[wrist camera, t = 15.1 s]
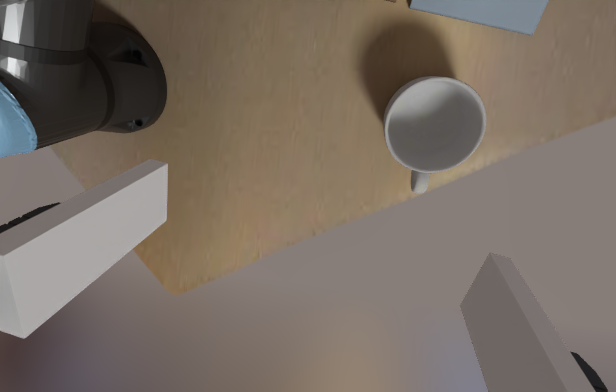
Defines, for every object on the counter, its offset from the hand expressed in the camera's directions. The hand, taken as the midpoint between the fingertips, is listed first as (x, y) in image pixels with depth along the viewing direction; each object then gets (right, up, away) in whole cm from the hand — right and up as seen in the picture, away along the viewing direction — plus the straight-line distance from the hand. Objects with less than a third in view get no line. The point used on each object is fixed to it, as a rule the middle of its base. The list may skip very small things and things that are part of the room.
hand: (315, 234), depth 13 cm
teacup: (+15, +11, +31) cm, 36 cm away
